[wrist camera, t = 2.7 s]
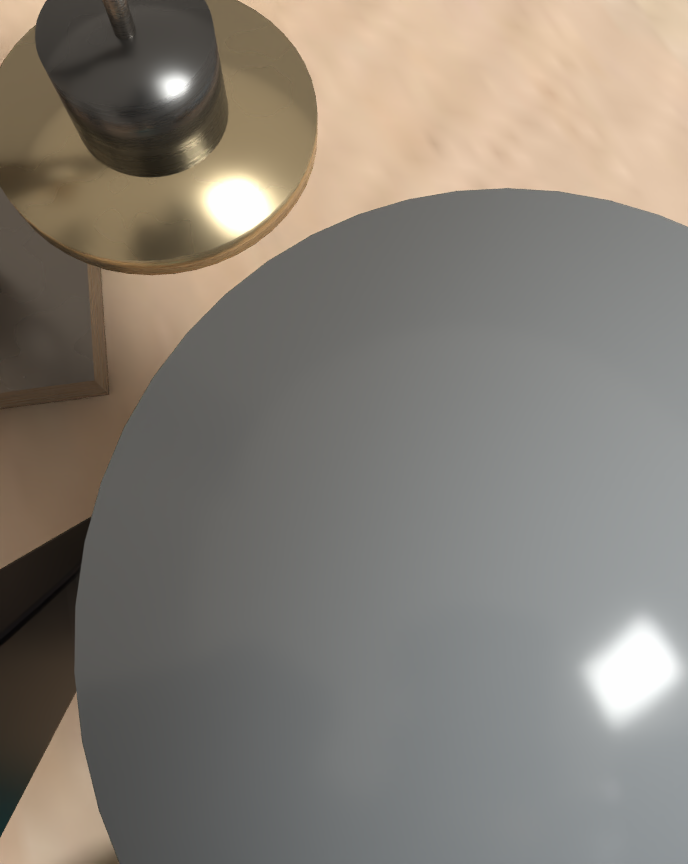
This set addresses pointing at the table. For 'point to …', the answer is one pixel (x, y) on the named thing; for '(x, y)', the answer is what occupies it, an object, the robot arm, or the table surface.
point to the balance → (134, 166)
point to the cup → (406, 552)
